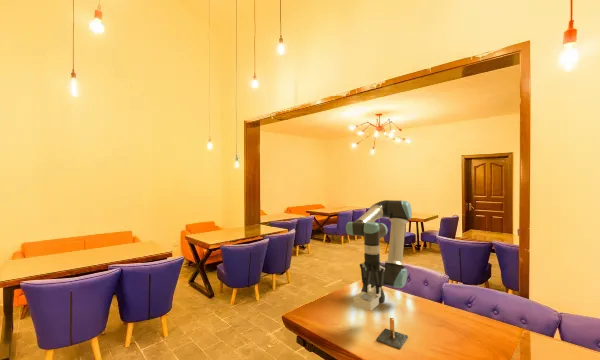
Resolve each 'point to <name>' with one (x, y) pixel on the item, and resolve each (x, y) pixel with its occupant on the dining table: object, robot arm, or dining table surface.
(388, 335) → the peg on square plate
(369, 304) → the square loop with stem
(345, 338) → the dining table surface
